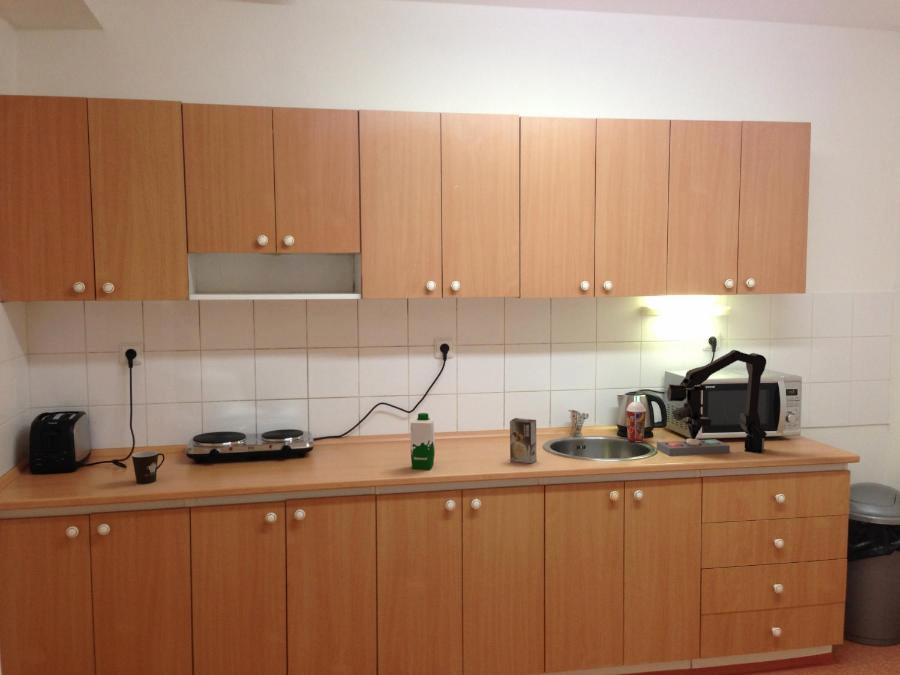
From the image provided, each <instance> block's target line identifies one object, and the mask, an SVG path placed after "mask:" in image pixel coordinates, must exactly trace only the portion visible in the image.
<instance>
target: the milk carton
mask: <svg viewBox="0 0 900 675" xmlns="http://www.w3.org/2000/svg"><path fill="white" fill-rule="evenodd" d="M409 428H410V459H411V460H410V461H411V462H410V463H411V470H419V471H420V470H421V471H422V470H423V471H425V470H426V471H430V470H431V469H432V468H433V467H434V463H435V461H434V460H435V451H436V450H435V449H436V448H435V419H434V418H429V413H428V412H420V413H417V418H416V417H415V418H413V419H412V420H411V422H410V427H409Z"/></svg>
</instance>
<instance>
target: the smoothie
mask: <svg viewBox="0 0 900 675" xmlns="http://www.w3.org/2000/svg"><path fill="white" fill-rule="evenodd" d="M625 410H626V411H625V412H626V428H627V433H626V434H627V438H628V441H629V440H630V441H629V442H631V441H642V440H644V438H645V429H646V416H647V409H646V408H645V406H644V404H643V403H642V402H640V401H639V400H638V395H637V394H635V400H634V401H632V402H630V403H629V404H628V406H627V407H626V409H625ZM642 442H643V441H642Z"/></svg>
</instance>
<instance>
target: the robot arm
mask: <svg viewBox="0 0 900 675" xmlns="http://www.w3.org/2000/svg"><path fill="white" fill-rule="evenodd" d="M738 361H739V362H742V363H745V368H746V371H747V374H748V378H747V379H748V380H747V391H746V403H745V410H744V413H742V412H741V413H739V421H738V424H740V427H741V429H743V431H744V433H745V434H746V435H745V438H744V450H743V451H744V452H747V453H748V452H750V453H757V454H762V453H764V452H765V451H766V449H765V439H766V437H767V435H768V433H767V431H765V430H764V429H763V428H762V424H761V418H760V414H759V404H760V391H761V379H762V376H763V374H764V372H765V370H766V366H767V358H766V357H765V356H764V355H762V354H759V353H755V352H752V353H749V354H748V353H745V352H742V351H740V350H738V349H737V350H736V349H732V350H730V351H729V352H728V353H726V354H724V355H721V356H720V357H718V358H717V359H715V360H713V361H711V362H709V363H708V364H706V365H703V366H698V367H695V368H692V369H690V370H688V371H687V372H686V373H685V377H684V378H683V380H682V381H681V382H680V384H668V387H667V391H666V398H667V401H668V402H684V400H686V402H684V403H683V407H679V408H677V409H674V410H672V411H671V412H672V416H673V418H674V420H677V421H682V422H683V423H685V425H686V426H687V428H688V432H689V434H690V439H697V436H698V434H699V432H700V431H701V429H702V427H711V426H713V420H712V419H711V418H709V417H706V416H704V414H703V413H702V408H703V407H704V403H702V394H703V393H702V392H703V391H705V392H706V391H708V388H706V387H705V385H704V384H703V383H705V381H707V380H708V379H709V378H710V377H711V376H712V375H713V374H715V373H717V372H719V371H720V370H722V369H724V368H727V367H729V366H730V365H732V364H733V363H735V362H738ZM683 419H684V420H683Z"/></svg>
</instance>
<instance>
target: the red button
mask: <svg viewBox="0 0 900 675" xmlns="http://www.w3.org/2000/svg"><path fill="white" fill-rule="evenodd" d="M669 442H670V441H669ZM668 445H669V446H671V447H676V446H681V444H680V443H676V442H670V443H668Z"/></svg>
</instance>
